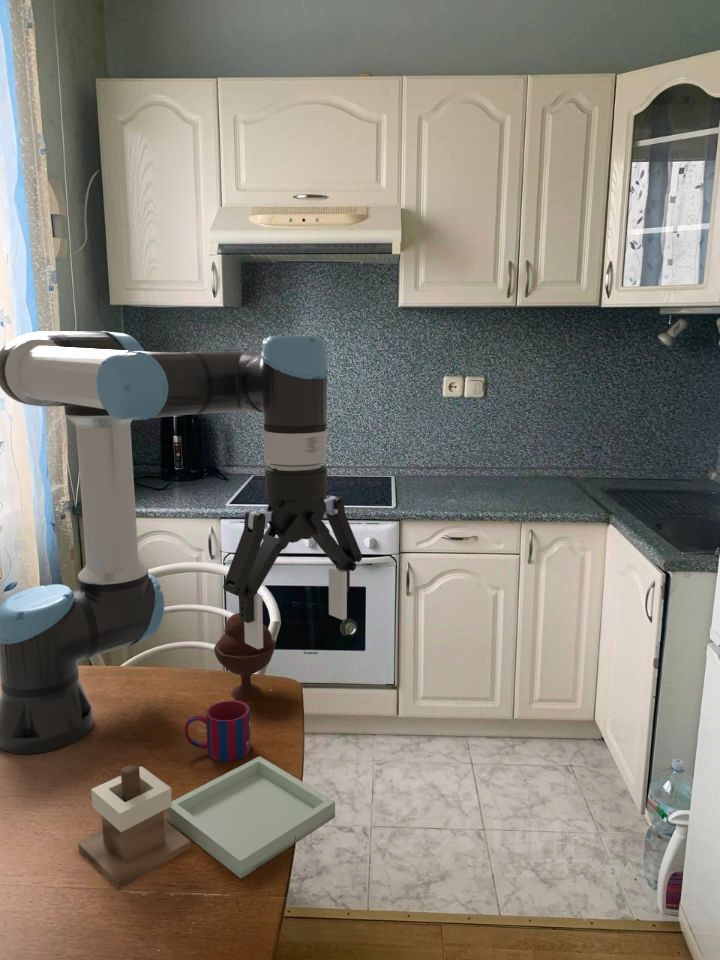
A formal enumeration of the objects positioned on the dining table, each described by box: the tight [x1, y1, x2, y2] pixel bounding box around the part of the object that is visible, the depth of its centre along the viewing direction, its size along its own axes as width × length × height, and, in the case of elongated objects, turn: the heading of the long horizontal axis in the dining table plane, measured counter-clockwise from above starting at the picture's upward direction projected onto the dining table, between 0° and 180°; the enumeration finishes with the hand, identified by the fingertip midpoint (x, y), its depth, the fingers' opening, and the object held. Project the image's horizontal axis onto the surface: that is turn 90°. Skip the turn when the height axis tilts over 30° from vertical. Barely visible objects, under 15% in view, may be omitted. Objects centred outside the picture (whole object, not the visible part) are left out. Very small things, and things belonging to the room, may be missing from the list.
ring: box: [90, 765, 173, 832], centre depth 93 cm, size 7×7×2 cm
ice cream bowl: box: [213, 612, 277, 702], centre depth 134 cm, size 11×11×15 cm
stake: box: [77, 764, 192, 890], centre depth 93 cm, size 10×10×11 cm
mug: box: [184, 700, 251, 763], centre depth 116 cm, size 7×10×7 cm
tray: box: [166, 756, 336, 879], centre depth 100 cm, size 16×16×2 cm
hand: (297, 630), depth 94 cm, fingers open, 13 cm apart
